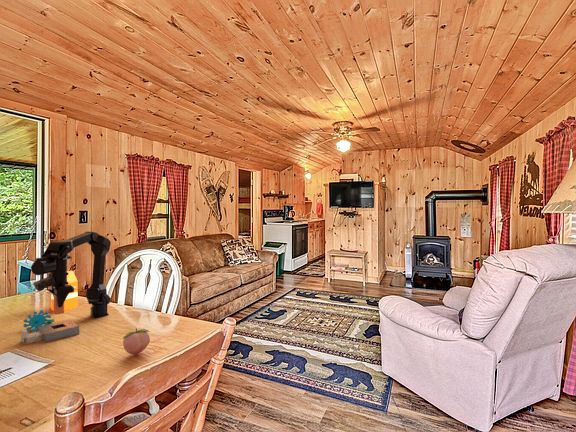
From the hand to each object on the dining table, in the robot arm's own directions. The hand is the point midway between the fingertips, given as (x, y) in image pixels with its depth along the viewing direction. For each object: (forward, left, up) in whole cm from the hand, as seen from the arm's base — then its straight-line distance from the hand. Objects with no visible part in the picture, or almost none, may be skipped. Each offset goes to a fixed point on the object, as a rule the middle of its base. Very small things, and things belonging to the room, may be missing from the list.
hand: (58, 306), depth 135 cm
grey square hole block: (0, 0, -12) cm, 12 cm away
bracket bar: (+9, 0, -12) cm, 15 cm away
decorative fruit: (-13, +43, -12) cm, 47 cm away
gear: (+4, -13, -12) cm, 19 cm away
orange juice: (-13, -38, -12) cm, 42 cm away
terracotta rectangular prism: (0, 0, -3) cm, 3 cm away
